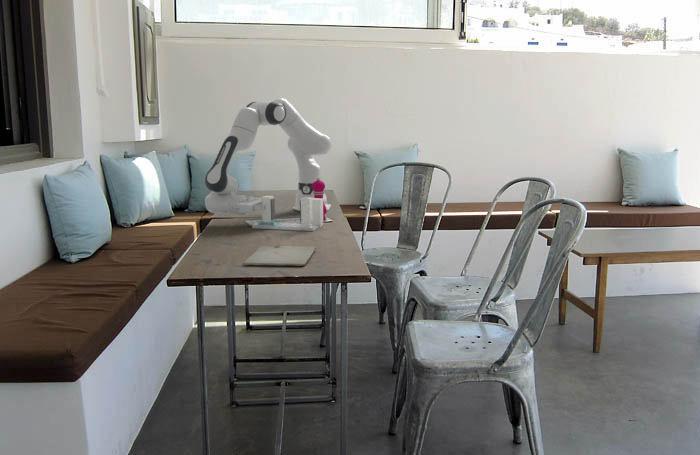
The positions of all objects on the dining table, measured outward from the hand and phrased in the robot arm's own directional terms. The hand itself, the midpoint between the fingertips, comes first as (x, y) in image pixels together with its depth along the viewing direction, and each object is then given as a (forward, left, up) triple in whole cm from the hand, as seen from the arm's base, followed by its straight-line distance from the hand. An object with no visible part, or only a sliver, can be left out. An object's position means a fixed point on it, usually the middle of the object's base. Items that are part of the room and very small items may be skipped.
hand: (269, 206), depth 271 cm
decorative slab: (+52, +26, -10) cm, 59 cm away
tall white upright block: (0, -1, -8) cm, 8 cm away
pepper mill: (-22, +15, -10) cm, 29 cm away
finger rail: (0, +7, -9) cm, 12 cm away
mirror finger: (-8, +19, -9) cm, 23 cm away
